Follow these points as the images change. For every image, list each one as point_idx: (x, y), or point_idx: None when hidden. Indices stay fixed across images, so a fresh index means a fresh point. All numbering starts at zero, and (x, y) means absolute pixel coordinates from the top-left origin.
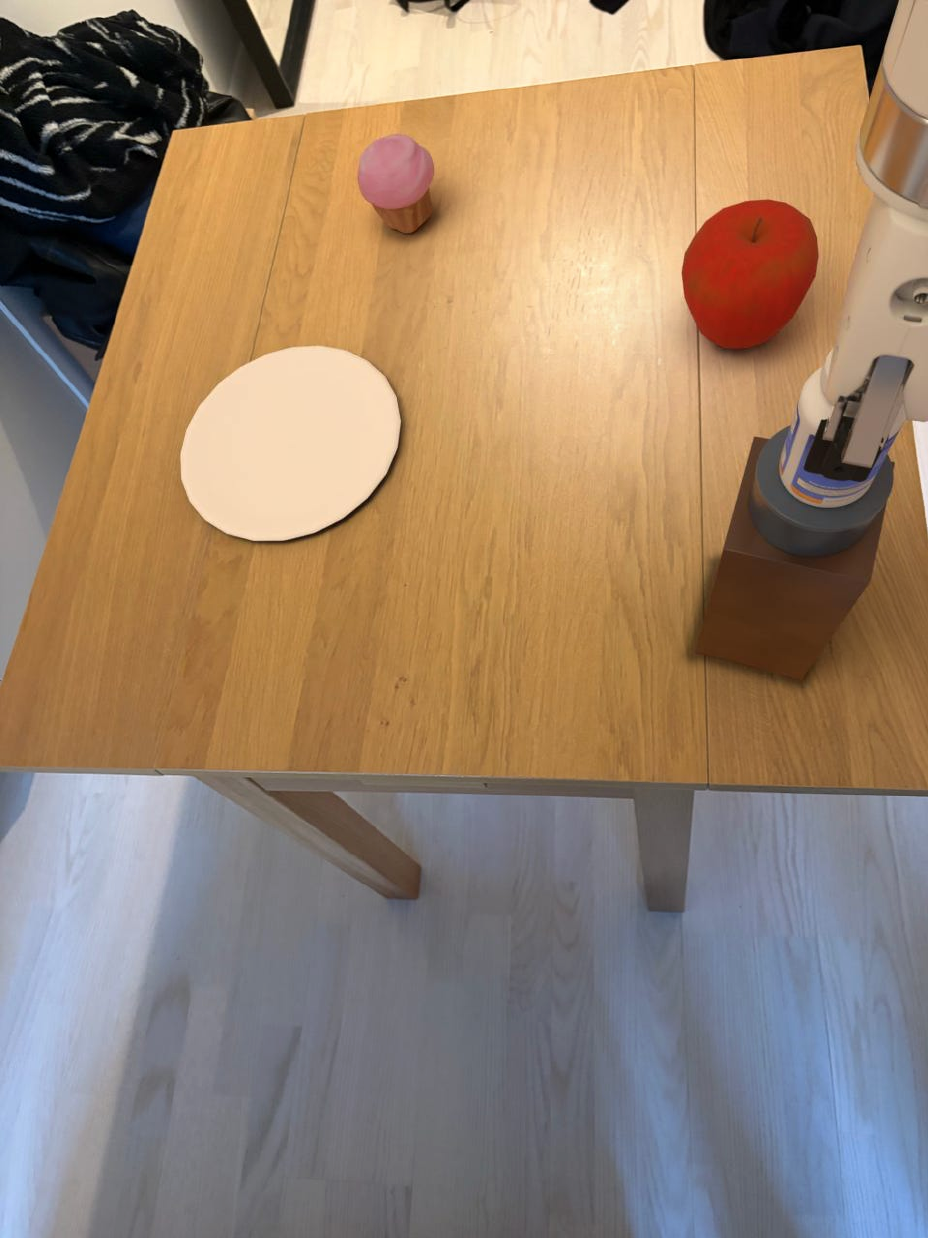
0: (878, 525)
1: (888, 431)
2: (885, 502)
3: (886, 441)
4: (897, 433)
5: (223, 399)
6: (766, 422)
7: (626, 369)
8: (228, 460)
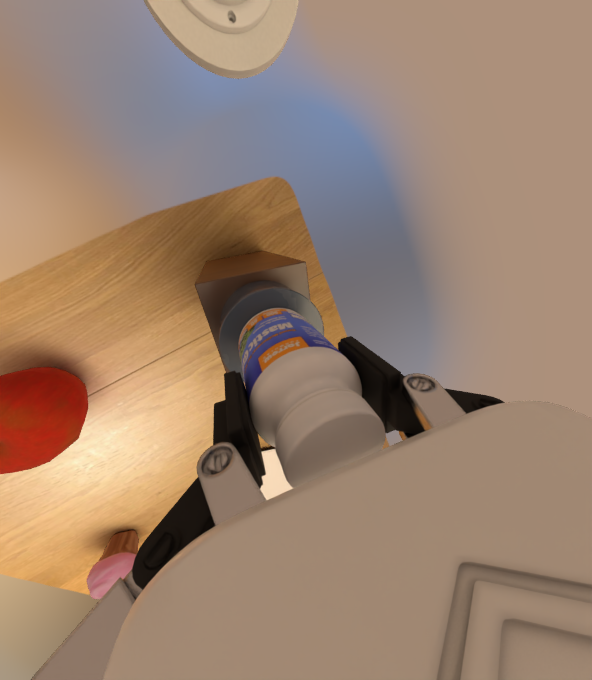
0: (259, 273)
1: (449, 397)
2: (282, 288)
3: (397, 370)
4: (315, 343)
5: None
6: (117, 336)
7: (138, 413)
8: (283, 489)
